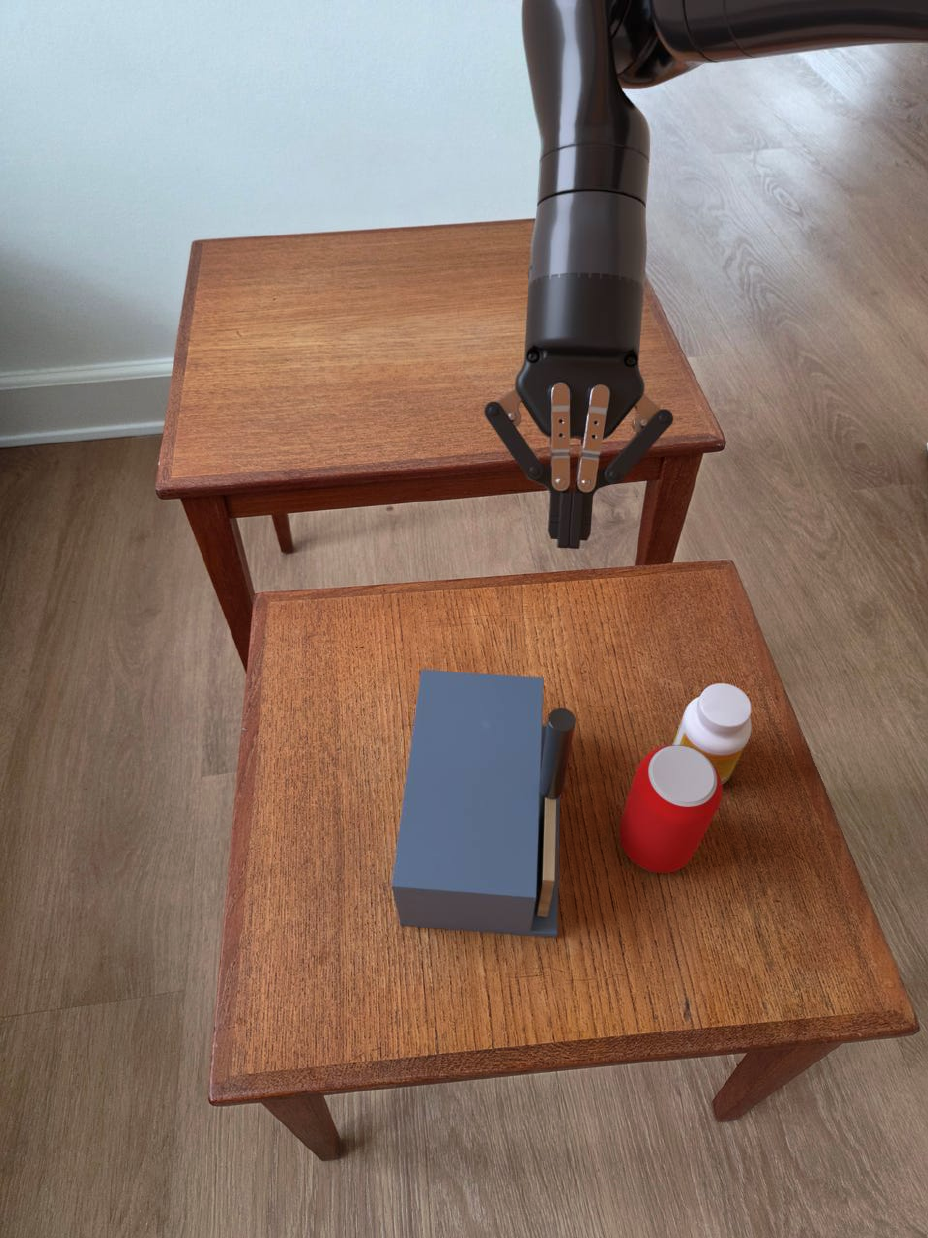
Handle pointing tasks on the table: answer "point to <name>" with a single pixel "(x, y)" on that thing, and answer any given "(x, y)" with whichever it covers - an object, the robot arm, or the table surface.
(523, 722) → the cabinet
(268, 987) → the table surface
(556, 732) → the brown flat handled piece
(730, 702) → the supplement bottle
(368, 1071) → the table surface
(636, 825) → the beverage can
